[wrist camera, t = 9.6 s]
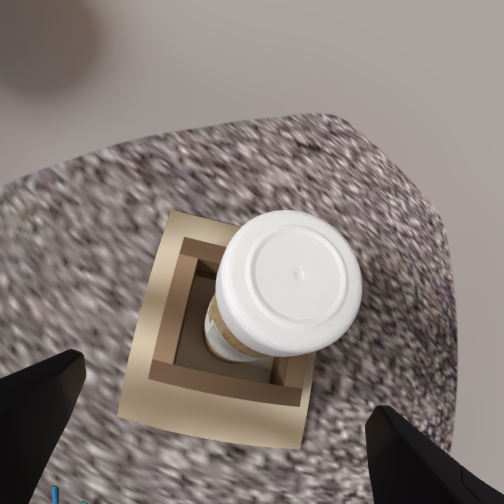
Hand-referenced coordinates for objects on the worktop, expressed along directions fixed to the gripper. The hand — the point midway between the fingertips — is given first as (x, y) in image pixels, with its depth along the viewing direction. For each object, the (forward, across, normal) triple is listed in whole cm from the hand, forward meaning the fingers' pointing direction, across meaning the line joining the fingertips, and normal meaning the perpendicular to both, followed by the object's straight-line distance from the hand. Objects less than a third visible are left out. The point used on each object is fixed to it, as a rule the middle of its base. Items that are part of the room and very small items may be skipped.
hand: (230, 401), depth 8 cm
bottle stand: (+13, 0, +6) cm, 14 cm away
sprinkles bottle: (+12, 0, +6) cm, 13 cm away
